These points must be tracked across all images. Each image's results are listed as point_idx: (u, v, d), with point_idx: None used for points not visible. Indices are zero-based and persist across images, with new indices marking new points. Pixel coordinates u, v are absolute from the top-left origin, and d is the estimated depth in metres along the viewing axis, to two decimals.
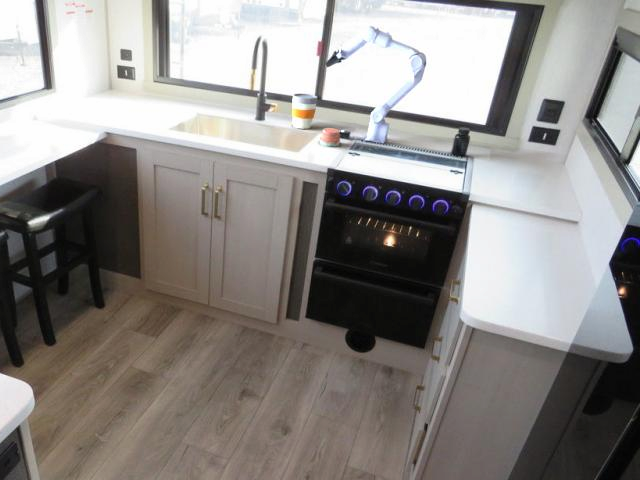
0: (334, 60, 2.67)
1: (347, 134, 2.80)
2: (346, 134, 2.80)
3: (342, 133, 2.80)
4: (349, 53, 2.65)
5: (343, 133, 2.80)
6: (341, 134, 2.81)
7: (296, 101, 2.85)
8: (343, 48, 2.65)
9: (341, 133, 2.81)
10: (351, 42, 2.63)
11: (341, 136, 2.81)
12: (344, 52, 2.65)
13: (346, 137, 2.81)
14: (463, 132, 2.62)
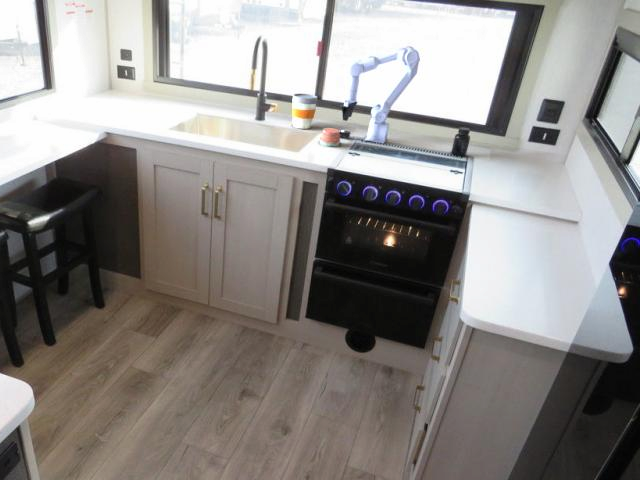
0: (347, 111, 2.71)
1: (347, 134, 2.80)
2: (346, 134, 2.80)
3: (342, 133, 2.80)
4: (353, 95, 2.69)
5: (343, 133, 2.80)
6: (341, 134, 2.81)
7: (296, 101, 2.85)
8: (345, 97, 2.71)
9: (341, 133, 2.81)
10: (349, 88, 2.68)
11: (341, 136, 2.81)
12: (349, 99, 2.70)
13: (346, 137, 2.81)
14: (463, 132, 2.62)
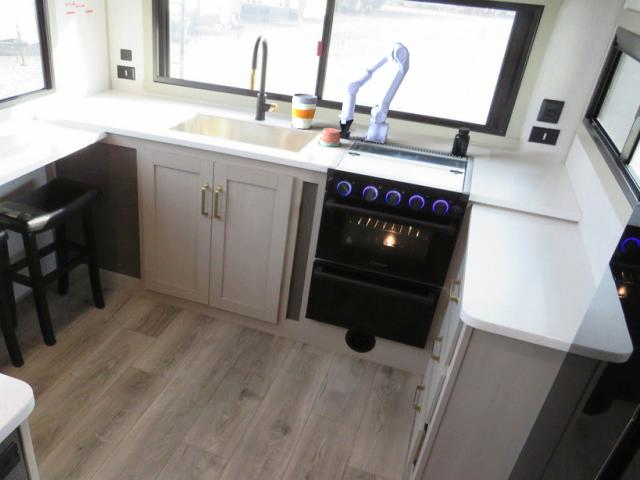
0: (345, 127, 2.77)
1: (347, 134, 2.80)
2: None
3: None
4: (350, 113, 2.73)
5: None
6: None
7: (296, 101, 2.85)
8: (343, 114, 2.75)
9: None
10: (346, 105, 2.72)
11: (341, 136, 2.81)
12: (346, 116, 2.74)
13: (346, 137, 2.81)
14: (463, 132, 2.62)
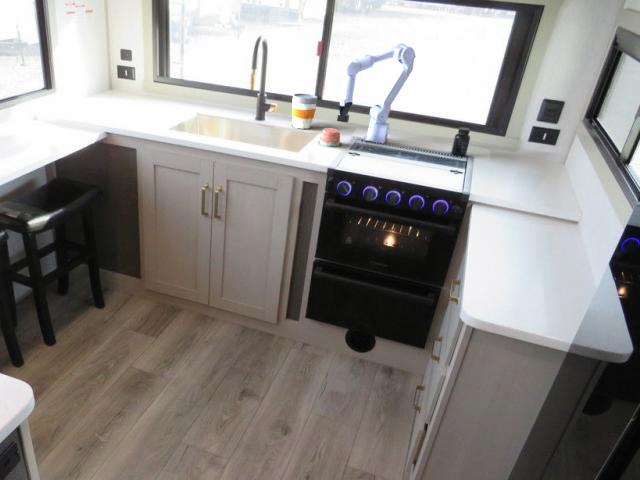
0: (344, 109, 2.70)
1: (346, 117, 2.72)
2: (345, 117, 2.73)
3: None
4: (349, 95, 2.66)
5: None
6: None
7: (296, 101, 2.85)
8: (342, 96, 2.68)
9: None
10: (346, 87, 2.64)
11: (339, 119, 2.74)
12: (345, 98, 2.67)
13: (345, 120, 2.73)
14: (463, 132, 2.62)
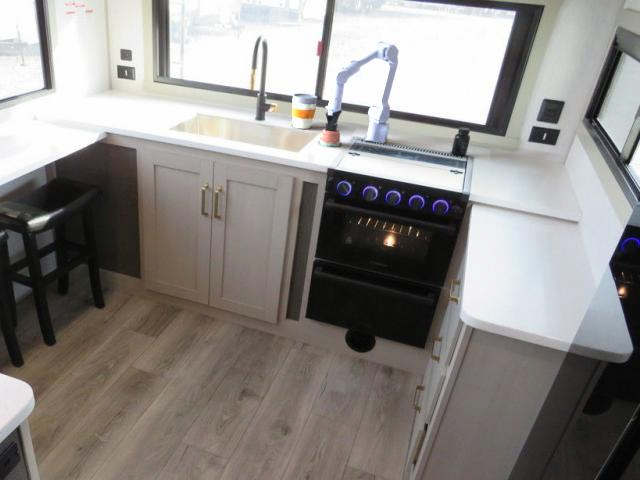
0: (332, 119, 2.64)
1: (334, 126, 2.67)
2: None
3: None
4: (338, 104, 2.61)
5: None
6: None
7: (296, 101, 2.85)
8: (330, 105, 2.62)
9: None
10: (335, 96, 2.59)
11: None
12: (333, 107, 2.62)
13: (333, 129, 2.68)
14: (463, 132, 2.62)
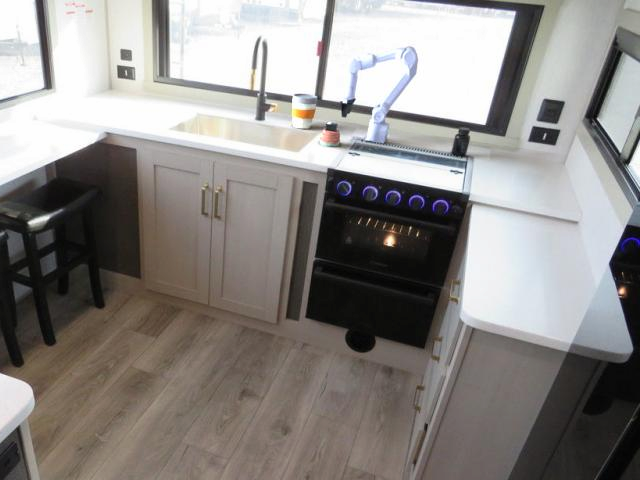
0: (345, 108, 2.73)
1: (334, 126, 2.67)
2: (333, 126, 2.67)
3: (329, 125, 2.68)
4: (352, 92, 2.70)
5: (330, 125, 2.68)
6: (328, 126, 2.68)
7: (296, 101, 2.85)
8: (344, 94, 2.72)
9: (328, 125, 2.68)
10: (346, 84, 2.69)
11: (328, 128, 2.69)
12: (347, 95, 2.71)
13: (333, 129, 2.68)
14: (463, 132, 2.62)
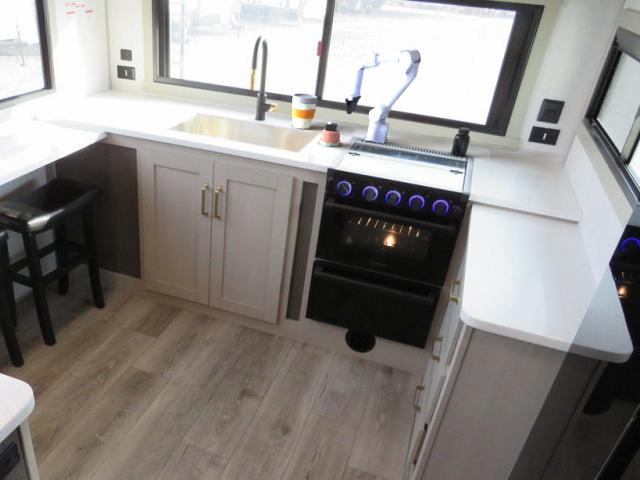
0: (351, 105, 2.78)
1: (334, 126, 2.67)
2: (333, 126, 2.67)
3: (329, 125, 2.68)
4: (357, 90, 2.76)
5: (330, 125, 2.68)
6: (328, 126, 2.68)
7: (296, 101, 2.85)
8: (350, 91, 2.77)
9: (328, 125, 2.68)
10: (350, 81, 2.75)
11: (328, 128, 2.69)
12: (353, 93, 2.77)
13: (333, 129, 2.68)
14: (463, 132, 2.62)
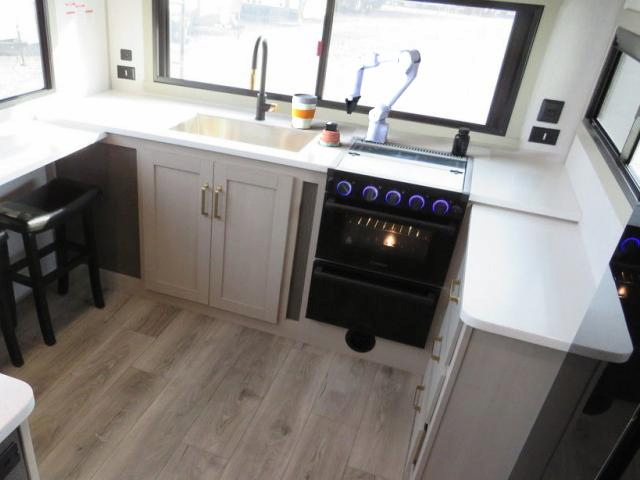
0: (351, 105, 2.78)
1: (334, 126, 2.67)
2: (333, 126, 2.67)
3: (329, 125, 2.68)
4: (357, 90, 2.76)
5: (330, 125, 2.68)
6: (328, 126, 2.68)
7: (296, 101, 2.85)
8: (350, 91, 2.77)
9: (328, 125, 2.68)
10: (350, 81, 2.75)
11: (328, 128, 2.69)
12: (353, 93, 2.77)
13: (333, 129, 2.68)
14: (463, 132, 2.62)
